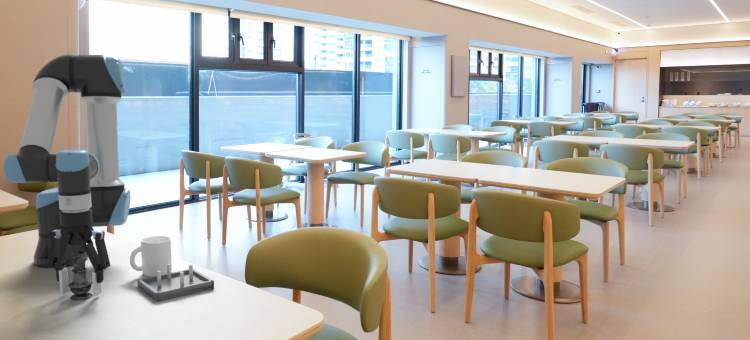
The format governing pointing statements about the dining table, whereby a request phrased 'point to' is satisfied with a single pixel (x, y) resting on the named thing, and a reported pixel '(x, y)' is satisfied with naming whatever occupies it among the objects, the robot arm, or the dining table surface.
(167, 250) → the mug
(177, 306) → the dining table surface
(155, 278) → the tray
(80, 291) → the dark grey tall piece
